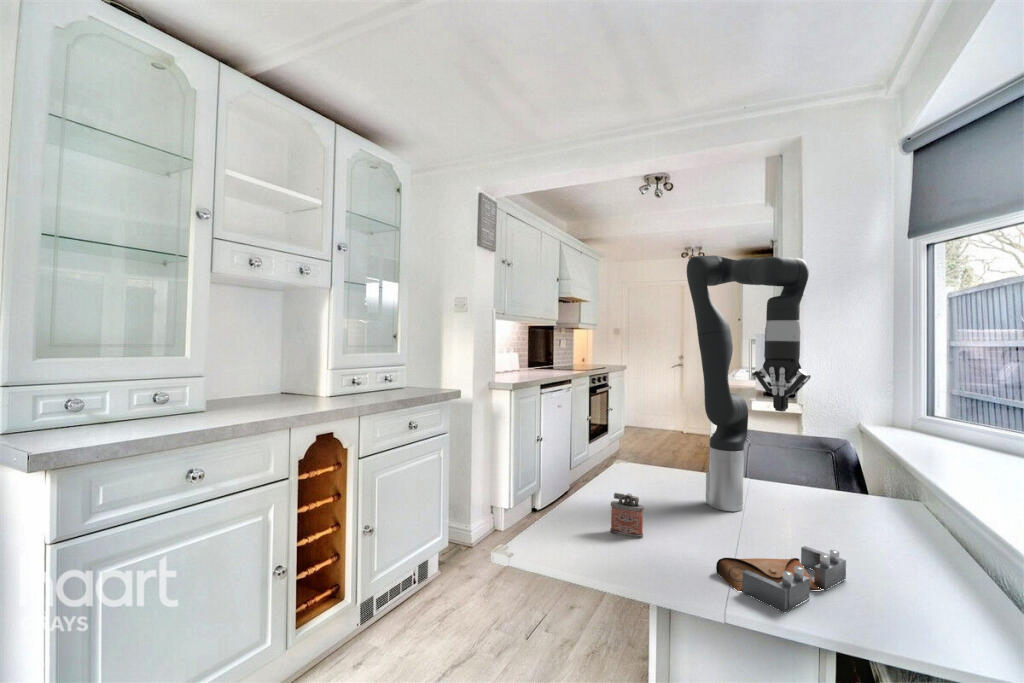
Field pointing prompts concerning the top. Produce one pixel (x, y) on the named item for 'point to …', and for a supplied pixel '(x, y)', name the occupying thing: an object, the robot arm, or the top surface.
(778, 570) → the sunglasses case
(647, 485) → the top surface
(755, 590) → the bracket
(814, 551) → the bracket
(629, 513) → the lighter
